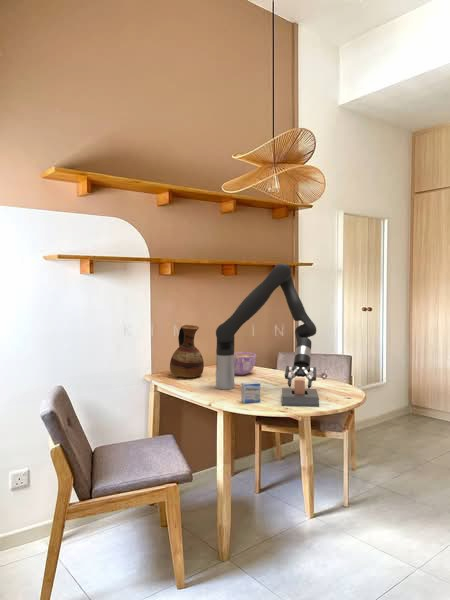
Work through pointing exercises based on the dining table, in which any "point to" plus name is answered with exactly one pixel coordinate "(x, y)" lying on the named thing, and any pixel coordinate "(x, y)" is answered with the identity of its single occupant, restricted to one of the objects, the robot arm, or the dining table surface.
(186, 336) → the ceramic pitcher
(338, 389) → the dining table surface
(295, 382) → the square peg
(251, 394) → the medicine box
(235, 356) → the bowl of food
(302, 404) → the square hole block
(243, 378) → the dining table surface
